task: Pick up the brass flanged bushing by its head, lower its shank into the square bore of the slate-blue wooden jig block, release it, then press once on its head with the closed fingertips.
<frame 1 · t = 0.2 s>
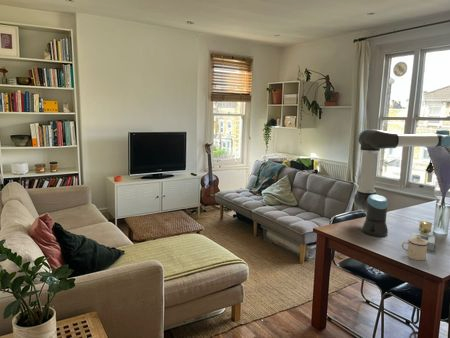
hand: (436, 184, 226), 28 cm above the table, fingers open, 13 cm apart
jig: (421, 244, 195), on the table
teacup with lid: (413, 256, 179), on the table
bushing: (423, 238, 204), on the table
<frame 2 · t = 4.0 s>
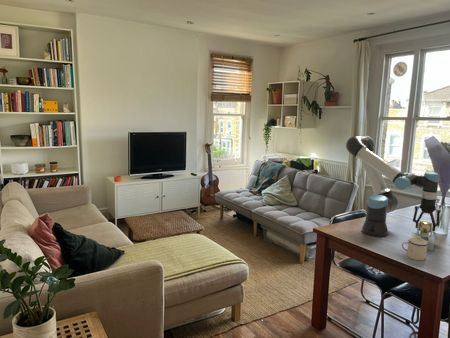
hand: (424, 234, 204), 2 cm above the table, fingers closed on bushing, 6 cm apart
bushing: (423, 238, 204), on the table, touching gripper
everything else where it was.
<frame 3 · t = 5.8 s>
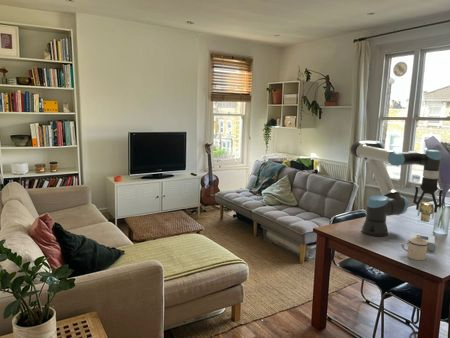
hand: (425, 216, 193), 17 cm above the table, fingers closed on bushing, 6 cm apart
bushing: (424, 220, 193), point 14 cm above the table, touching gripper
everything else where it was.
when the fingers open (5 cm above the table, at t = 7.9 s): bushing drops 3 cm, resting in jig.
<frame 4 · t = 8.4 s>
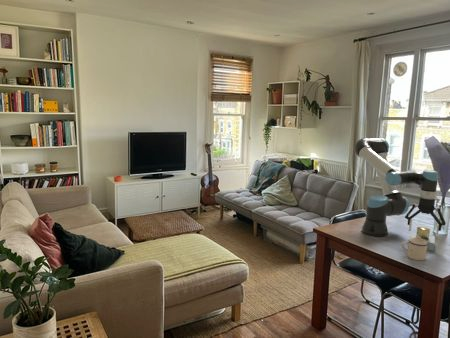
hand: (423, 233, 193), 7 cm above the table, fingers open, 13 cm apart
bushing: (421, 244, 195), resting in jig
everything else where it was.
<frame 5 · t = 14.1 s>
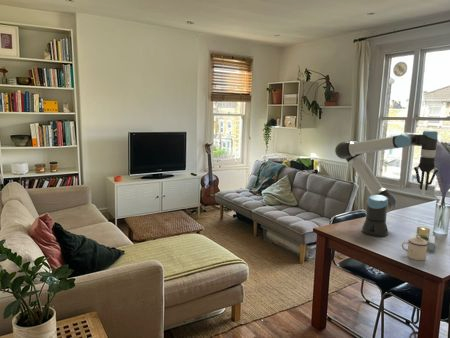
hand: (422, 194, 203), 26 cm above the table, fingers closed
nothing on the table moved.
at the end: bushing 0.0 cm off-centre on the jig, point 0.0 cm above the jig's base; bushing tilted 0°; the gripper is holding nothing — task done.
